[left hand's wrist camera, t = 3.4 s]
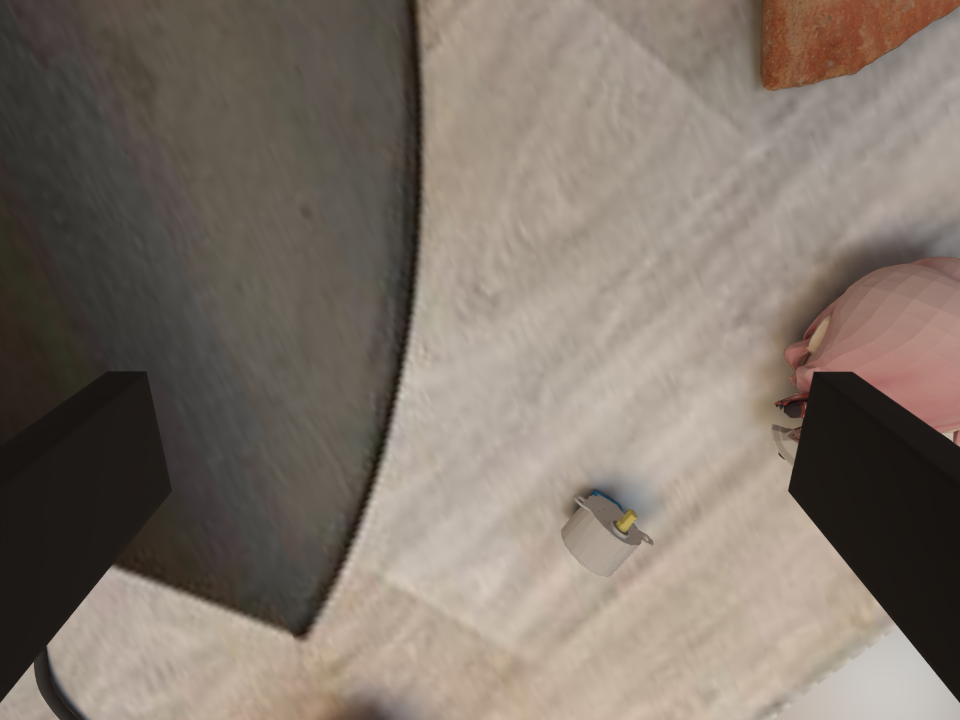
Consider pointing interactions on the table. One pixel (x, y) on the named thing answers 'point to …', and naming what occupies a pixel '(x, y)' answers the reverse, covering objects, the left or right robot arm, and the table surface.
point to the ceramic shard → (836, 35)
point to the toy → (887, 344)
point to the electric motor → (602, 534)
